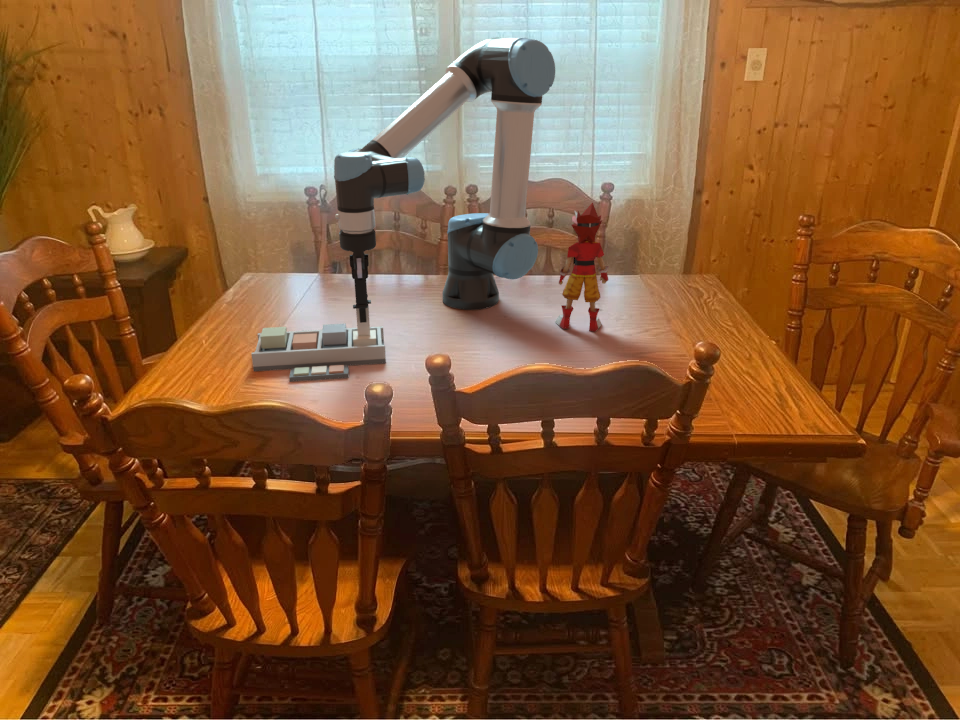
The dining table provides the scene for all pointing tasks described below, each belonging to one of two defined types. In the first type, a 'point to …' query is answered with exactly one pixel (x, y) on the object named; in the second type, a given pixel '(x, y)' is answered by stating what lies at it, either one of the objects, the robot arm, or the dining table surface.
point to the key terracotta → (305, 341)
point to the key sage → (274, 337)
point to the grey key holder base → (319, 353)
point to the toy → (583, 268)
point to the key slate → (334, 334)
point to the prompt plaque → (319, 373)
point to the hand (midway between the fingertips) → (364, 333)
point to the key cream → (364, 339)
